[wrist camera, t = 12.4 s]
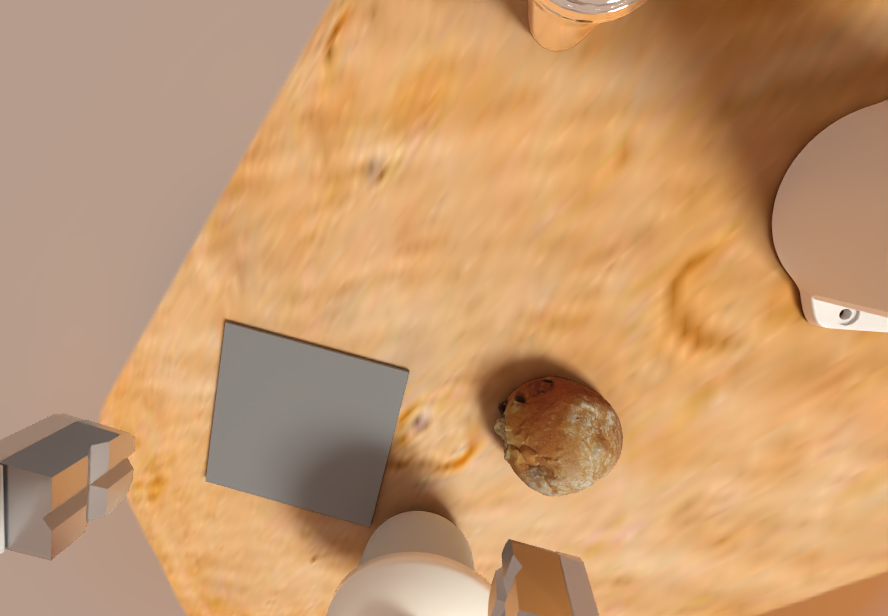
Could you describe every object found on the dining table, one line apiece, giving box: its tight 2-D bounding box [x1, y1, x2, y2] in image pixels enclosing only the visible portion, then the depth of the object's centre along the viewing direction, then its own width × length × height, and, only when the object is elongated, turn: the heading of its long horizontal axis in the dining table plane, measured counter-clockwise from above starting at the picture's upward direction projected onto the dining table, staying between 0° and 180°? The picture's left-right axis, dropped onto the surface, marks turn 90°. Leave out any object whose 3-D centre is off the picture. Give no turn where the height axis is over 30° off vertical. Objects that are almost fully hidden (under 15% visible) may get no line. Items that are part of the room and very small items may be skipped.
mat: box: [206, 322, 410, 527], centre depth 39 cm, size 17×17×1 cm
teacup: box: [359, 511, 474, 570], centre depth 38 cm, size 14×11×8 cm
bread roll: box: [494, 376, 623, 496], centre depth 35 cm, size 10×10×8 cm
